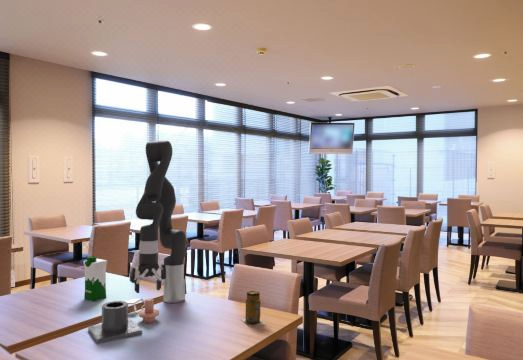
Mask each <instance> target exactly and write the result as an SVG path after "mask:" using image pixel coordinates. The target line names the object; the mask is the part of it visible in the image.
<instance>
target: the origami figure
mask: <svg viewBox="0 0 523 360" xmlns="http://www.w3.org/2000/svg"><path fill="white" fill-rule="evenodd" d="M124 302H127V303H128V305H133V309H134V311H133V315H136V311H137V305H136V304H137V303H139V302H142V303H144V304H143V305H142V306H141V307H140V309H141V311H142V310H145V308H143V307H145V299H143V298H133V299H126V300H125V301H124Z"/></svg>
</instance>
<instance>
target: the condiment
mask: <svg viewBox="0 0 523 360" xmlns="http://www.w3.org/2000/svg"><path fill="white" fill-rule="evenodd" d="M260 296H261V295H260V291H257V290H249V291H247V292H246V298H245V316H244V317H245V318H241V319H240V320H241V321H242V322H244V324H246V325H247V326H249V327H256V326H261V325H266V324H267V323H265V322H264V321H263V320H261V304H262V303H261V298H260Z"/></svg>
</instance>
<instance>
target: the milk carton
mask: <svg viewBox="0 0 523 360" xmlns="http://www.w3.org/2000/svg"><path fill="white" fill-rule="evenodd" d="M82 263H83V268H84V298H83V299H84V300H87V301H90V302H97V301H100V300H103V299H106V298H107V287H106V283H107V278H106V277H107V276H106V275H107V274H106V271H107V266H108V265H107V264H108V259H107V260H106V259H100V258H97V256H95V255H91V256H87V257H86V260H83V262H82Z"/></svg>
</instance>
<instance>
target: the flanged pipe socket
mask: <svg viewBox="0 0 523 360" xmlns="http://www.w3.org/2000/svg"><path fill="white" fill-rule="evenodd" d="M87 329H88V332H89V334H90V335H91V337H92V338H93V340H94V341H95V343H96V344H101V343H106V342H112V341H116V340H120V339H125V338H130V337H134V336H139V335H143V329H141V327H139V325H137V323H136V322H134V321H133V320H132V319H131V318H129V304H128V303H127V302H124V301H123V300H113V301H109V302H105V303H103V304H102V305H101V324H96V325H91V326H88V327H87Z"/></svg>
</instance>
